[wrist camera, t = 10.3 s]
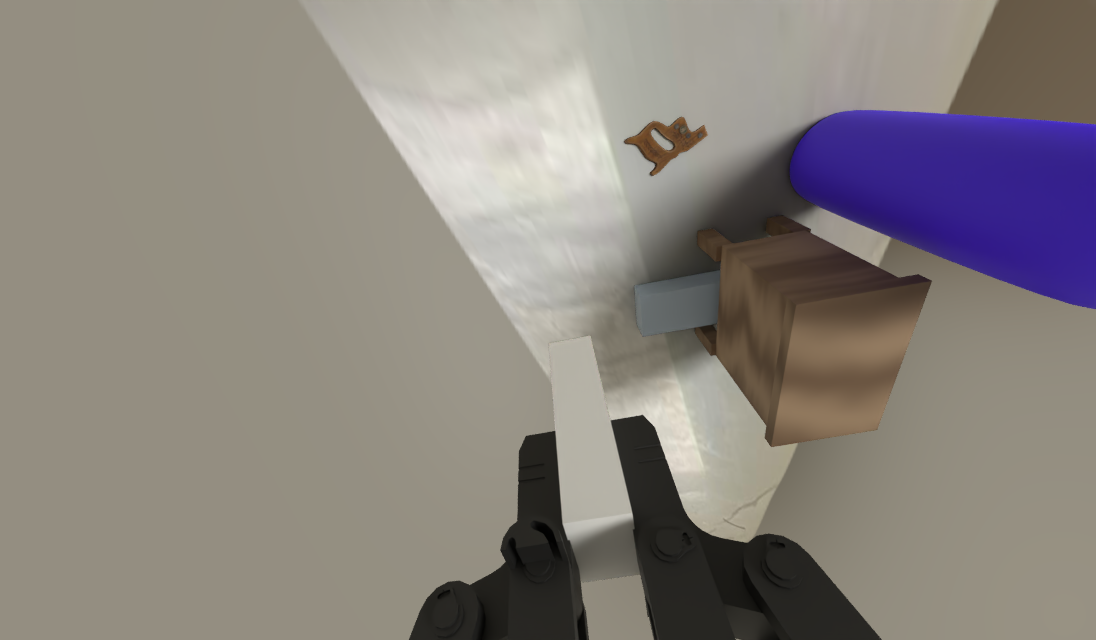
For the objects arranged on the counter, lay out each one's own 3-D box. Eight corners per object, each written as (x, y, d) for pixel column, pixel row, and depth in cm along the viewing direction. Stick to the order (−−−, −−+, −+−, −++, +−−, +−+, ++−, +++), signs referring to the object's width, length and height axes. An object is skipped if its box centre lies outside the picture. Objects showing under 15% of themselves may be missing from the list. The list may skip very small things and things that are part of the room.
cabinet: (697, 226, 39) (796, 304, 25) (783, 210, 39) (932, 280, 25) (694, 336, 46) (771, 447, 32) (767, 324, 46) (876, 429, 32)
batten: (633, 284, 43) (640, 296, 40) (772, 258, 42) (788, 269, 40) (635, 322, 45) (642, 336, 43) (766, 299, 45) (781, 312, 42)
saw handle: (898, -83, 29) (905, -87, 28) (910, -18, 31) (917, -20, 30) (621, 137, 35) (622, 138, 35) (646, 179, 37) (648, 180, 37)
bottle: (778, 209, 39) (1279, 449, 13) (792, 116, 35) (1570, 203, 9) (863, 194, 39) (1544, 411, 13) (887, 99, 34) (1975, 137, 9)
